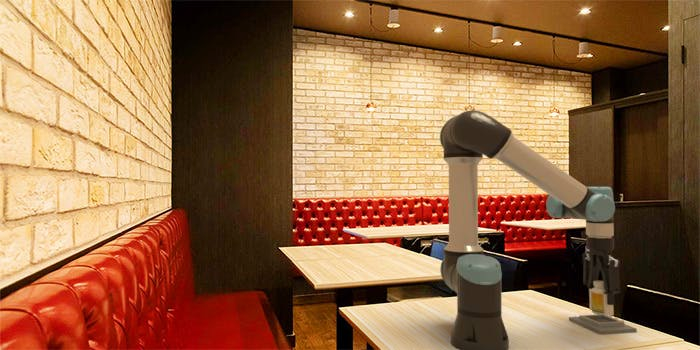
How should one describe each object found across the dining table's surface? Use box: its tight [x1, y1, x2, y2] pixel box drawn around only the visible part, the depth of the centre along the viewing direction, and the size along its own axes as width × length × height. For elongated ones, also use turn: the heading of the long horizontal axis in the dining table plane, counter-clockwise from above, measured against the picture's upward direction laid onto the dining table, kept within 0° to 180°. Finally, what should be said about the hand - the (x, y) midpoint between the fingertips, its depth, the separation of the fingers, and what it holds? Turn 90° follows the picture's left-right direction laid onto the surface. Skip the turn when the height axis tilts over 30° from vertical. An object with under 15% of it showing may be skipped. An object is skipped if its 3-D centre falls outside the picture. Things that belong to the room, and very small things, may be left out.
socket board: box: [568, 314, 638, 335], centre depth 139 cm, size 12×14×2 cm
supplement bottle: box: [591, 280, 605, 315], centre depth 140 cm, size 5×5×10 cm
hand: (601, 312), depth 139 cm, fingers closed on supplement bottle, 5 cm apart
